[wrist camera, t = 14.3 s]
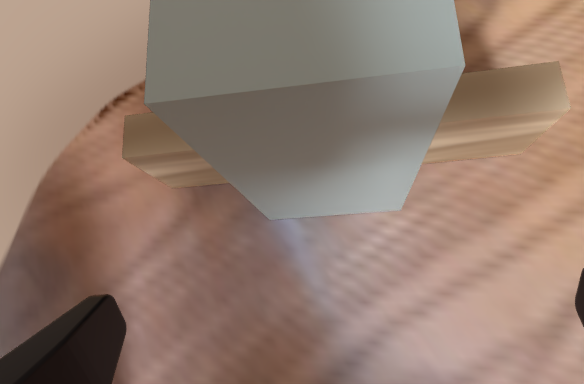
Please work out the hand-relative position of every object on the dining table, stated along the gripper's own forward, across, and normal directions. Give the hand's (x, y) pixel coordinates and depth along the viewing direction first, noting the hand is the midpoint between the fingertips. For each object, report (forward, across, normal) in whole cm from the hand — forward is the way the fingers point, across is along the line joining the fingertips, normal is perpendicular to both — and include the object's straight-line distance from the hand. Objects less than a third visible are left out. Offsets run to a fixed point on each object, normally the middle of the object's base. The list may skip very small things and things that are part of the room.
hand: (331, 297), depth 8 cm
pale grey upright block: (+14, 0, +4) cm, 14 cm away
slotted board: (+14, 0, +3) cm, 14 cm away
